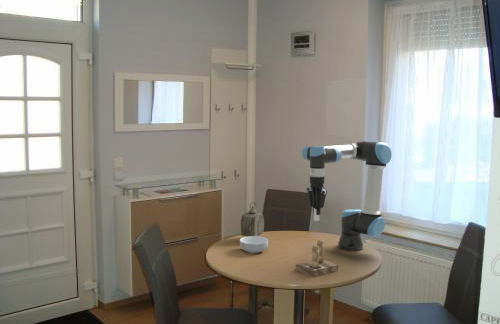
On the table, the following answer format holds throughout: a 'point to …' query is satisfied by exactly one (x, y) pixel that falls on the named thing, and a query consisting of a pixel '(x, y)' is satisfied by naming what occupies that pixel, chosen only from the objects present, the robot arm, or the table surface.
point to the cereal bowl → (253, 244)
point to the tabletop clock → (252, 223)
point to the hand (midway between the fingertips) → (316, 220)
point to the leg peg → (315, 257)
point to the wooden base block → (323, 264)
